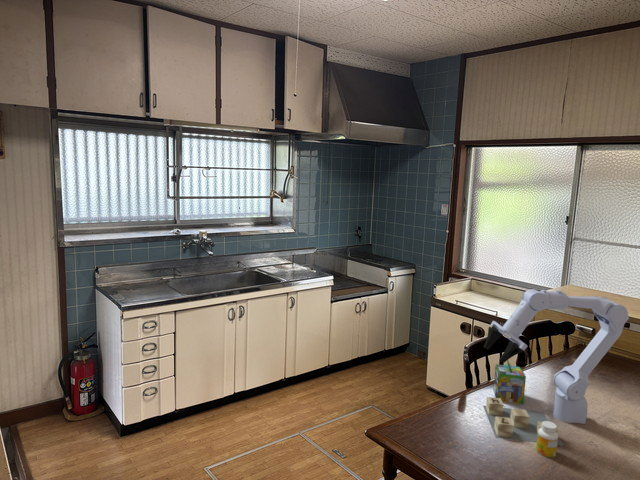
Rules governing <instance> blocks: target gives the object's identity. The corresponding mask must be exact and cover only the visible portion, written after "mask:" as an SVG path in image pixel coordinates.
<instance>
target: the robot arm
mask: <svg viewBox="0 0 640 480" xmlns="http://www.w3.org/2000/svg"><path fill="white" fill-rule="evenodd" d="M568 307H569V308H570V307H571V308H581V309H582V308H583V309H589V310H590V309H591V310H592V312H593V314H594V316H595V317H596V319H597V320H598V322H599V326H600V329H599V330H598V331H597V333H596V334H595V335H594V336H593V338H592V339H591V341H590V342H589V343H588V345H586V347H585V348H584V349H583V351H582V352H581V353H580V354H579V356H578V357H577V358H576V359H575V361H574V362H573V363H572V365H567V366H564V367H563V368H562V369H561V370H559V371H558V372H556V373H555V374H554V376H553V379H552V382H553V384H554V386H555V396H554V404H553V411H552V416H553V417H554V419H557V420H558V421H560V422H563V423H569V424H576V423H577V424H584V425H585V424H586V423H587V422H586V421H587V416H588V401H587V398H586V396H585V395H586V391H587V389H588V387H589V386H590V382H589V375H590V374H591V373H592V372H593V370H595V368H596V367H597V366H598V364H599V362H601V360H602V359H603V358H604V356H605V355H606V354H607V353H608V351H609V350H610V349H611V347H612V346H613V345H614V344H615V343H616V341H617V340H618V339H619V337H620V336H621V335H622V333H623V329H624V326H625V324H626V323H627V322H628V320H629V319H630V316H629V312H628V310H627V308H626V306H624V305H622V304H619V303H617V302H615V301H612V300H611V299H608V298H607V297H603V296H601V297H600V296H596V295H593V296H590V295H589V296H588V295H586V296H585V295H584V296H581V295H575V296H574V295H572V296H570V295H567V293H565V292H563V291H562V290H560V289H555V291H549V290H548V291H547V290H546V289H541V290H540V291H539V290H537V289H533V288H531V289H528V290H526V291H524V292H523V293H522V295H521V301H520V303H519V304H518V306H517V307H515V310H513V312H512V313H511V315H509V318H507V320H506V322H505V323H504V324H503V325H501V324H499V323H498V322H497V321H495V320H492V322H491V323H490V326H488V328H487V330H488V331H487V336H486V340H485V342H484V345H483V348H484V349H486V350H490V349H491V348H492V347H493V345H494V344H495V343H496V342H497V340H499V339H500V338H501V337H502V336H504V337H506V339H508V340H509V341H508V344H507V346H506V348H505V349H504V352H503V353H502V354H501V356H500V358H499V362H501V363H502V364H504V363H507V360H508V361H509V360H510V359H511V358H512V357H514V356H517V355H518V354H521V353H523V352H524V351H525V350H526V349H527V348H528V345H527V344H526V343H525V342H523V341H522V340H521V339H520V336H521V334H522V333H523V332H524V331H525V329H526V328H527V327H528V325H529V324H530V323H531V321H532V320H533V318H535V316H536V314H537V313H538V312H541V311H544V310H557V311H558V310H560V311H561V310H566V309H567V308H568Z"/></svg>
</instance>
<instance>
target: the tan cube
mask: <svg viewBox="0 0 640 480" xmlns="http://www.w3.org/2000/svg"><path fill="white" fill-rule="evenodd" d="M542 422H543V421H538V425H537V434H538V430H539V429H540V428H541V425H542ZM556 432H557V434H558V433H559V430H558V429H557V430H556ZM558 435H559V434H558Z"/></svg>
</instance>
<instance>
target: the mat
mask: <svg viewBox="0 0 640 480" xmlns="http://www.w3.org/2000/svg"><path fill="white" fill-rule="evenodd" d="M482 408H483V410H484V412H485V414H486V417H487V419H488V422H489V425H490V426H491V429H492V432H493V435H494V437H495V439H503V440H513V441H521V442H529V443H536V444H537V437H538V434H537V425H538V421H549V420H548V418H547V416H546V414H545V413H544V412H543V411H538V410H536V411H535V410H528V409H527V410H526V409H525V410H526V412H527V413H528V415H529V426H528V428H519V427H513V436H512V437H504V436H497V434H496V431H495V429H494V425H495V416H496V417H506V418H510V416H511V408H510V407H503V415H502V416H500V415H491V414H488V412H487V409H486V405H483V406H482ZM557 446H563V447H564V446H565V444H564V443H563V442H562V440H561V438H560V437H559V436H558V443H557Z"/></svg>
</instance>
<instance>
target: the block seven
mask: <svg viewBox="0 0 640 480" xmlns="http://www.w3.org/2000/svg"><path fill="white" fill-rule="evenodd" d="M513 427H514V425H513V423H512V421H511V419H510V418H506V417H496V416H495V425H494V429H495V431H496V434H497V436H504V437H512V436H513Z"/></svg>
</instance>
